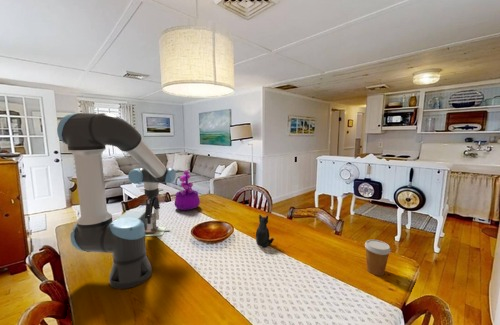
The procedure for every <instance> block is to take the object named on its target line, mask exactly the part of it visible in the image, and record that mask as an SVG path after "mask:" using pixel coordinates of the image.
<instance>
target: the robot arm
mask: <svg viewBox="0 0 500 325" xmlns="http://www.w3.org/2000/svg"><path fill="white" fill-rule="evenodd" d="M139 132H140V131H138V130H137V129H136V128H135V127H134V126H133V125H131V124H130V123H129V122H128V121H127V120H125V119H123V118H121V117H119V116H117V115H115V114H112V113H108V112H107V113H105V112H102V113H101V112H100V113H91V112H90V113H89V112H88V113H87V112H86V113H85V112H84V113H83V112H77V113H70V114H67V115H65V116H63V117H62V118H61V119H60V120H59V121H58V124H57V128H56V134H57V137H58V138H59V140H61V142H62V143H63V144H64V145H67V151H68V152H69V153H71V154H72V155H73V157H74V159H73V160H74V165H75V166H74V167H75V174H76V175H75V176H76V184H77V193H78V194H77V195H78V201H79V202H78V203H79V210H80V211H79V212H80V217H79V218H78V219H77V220H76V224H75V225H73V228H72V231H71V233H70V238H69V239H70V243H71V245H72V246H73V248H75V249H76V250H78V251H82V252H85V253H105V254H107V253H108V254H112V266H111V269H110V272H109V275H108V276H109V278H108V281H109V286H110V287H112V288H113V289H119V290H125V289H131V288H133V287H136V286H139V285H141V284H143V283H144V282H146V281H147V280H148V279H149V278H150V277H151V275H152V273H153V272H152V265H151V262H150V259H149V258H148V256H147V250H146V248H147V247H146V244H147V243H146V236H145V228H144V223H143V222H142V221H141V220H140V219H138V218H133V217H126V218H119V217H118V218H119V219H118V218H116V219H115V220H113V215H112V213H110V212H109V211H108V208H107V198H106V197H107V194H106V187H105V186H106V185H105V176H104V164H103V157H102V154H103V152H104V151H105V150H106V149H107V148H106V147H107V146H112V147H116V148H117V149H119V150H120V151H121V152H125V153H127V154H128V155H129V156H130V157H131V158H133V159H134V160H135V161H136V162H137V163H138V164H139V165H140V166H141V167H135V168H134V169H131V170H130V171H129V172H128V175H127V178H128V180H129V182H130V183H132V184H133V185H134V184H135V185H136V184H141V183H143V188H144V191H143V192H144V196H145V197H146V198H147V197H148V198H147V199H145V210H146V212H145V218H147V229H153V224H152V217H151V216H152V213H155V214H156V221H159V220H160V211H159V210H160V209H161V205H160V203H159V198H158V197H159V194H160V190H159V185H160V184H172V183H174V182H175V180H176V174H177V173H176V170H175V169H174V168H170V167H169V168H167V167H166V165H165V164H164V163H163V162H162V161H161V160H160V159H159V158H158V157H157V155H156V154H155V153H154V152H153V151H152V149H151V148H149V147H148V145H147V144H146V143H145V142H144V141H143V137H142V135H141V133H139Z"/></svg>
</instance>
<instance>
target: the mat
mask: <svg viewBox="0 0 500 325" xmlns="http://www.w3.org/2000/svg"><path fill="white" fill-rule="evenodd" d="M167 228H168V227H166V226H164V227H163V226H162V227H160V226H158V229H157V230H167ZM164 234H165V232H155V233H147V234H145V237H160V236H163V235H164Z"/></svg>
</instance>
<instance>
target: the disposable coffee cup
mask: <svg viewBox="0 0 500 325" xmlns="http://www.w3.org/2000/svg"><path fill="white" fill-rule="evenodd" d="M364 247H365V256H366V257H365V258H366V270H367V271H368V272H369V273H370V274H372V275H374V276H378V277H380V276H384V274H385V271H386V267H387V263H388V260H389V259H388V258H389V255H390V253H391V251H392V249H391V247H390V245H389V244H388V243H386V242H385V241H382V240H379V239H368V240H366V241H365V243H364Z"/></svg>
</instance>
